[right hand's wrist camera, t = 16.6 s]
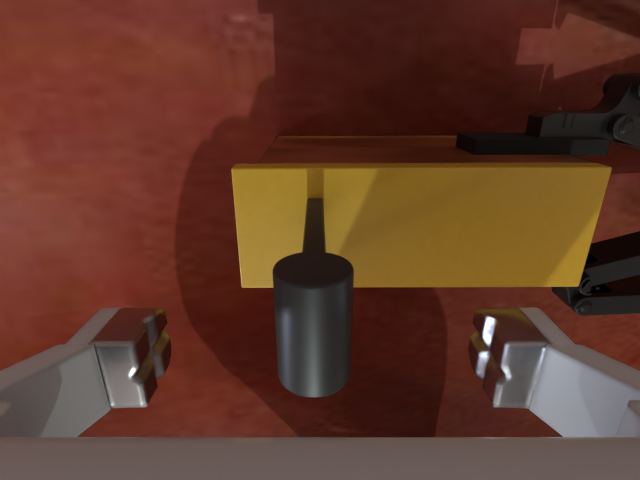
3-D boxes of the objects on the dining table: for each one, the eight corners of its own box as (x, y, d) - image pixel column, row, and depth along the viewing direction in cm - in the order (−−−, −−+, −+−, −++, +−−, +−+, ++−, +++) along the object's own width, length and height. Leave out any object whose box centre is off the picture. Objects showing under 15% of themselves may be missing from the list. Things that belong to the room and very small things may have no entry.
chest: (280, 217, 28) (263, 278, 19) (277, 135, 26) (256, 163, 17) (489, 216, 28) (566, 277, 19) (503, 135, 26) (596, 162, 17)
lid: (245, 278, 19) (188, 431, 11) (235, 163, 17) (154, 241, 9) (566, 277, 19) (759, 428, 11) (597, 162, 17) (867, 240, 9)
